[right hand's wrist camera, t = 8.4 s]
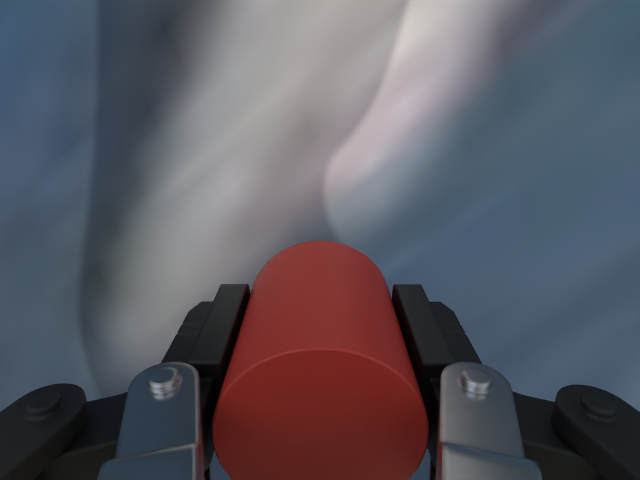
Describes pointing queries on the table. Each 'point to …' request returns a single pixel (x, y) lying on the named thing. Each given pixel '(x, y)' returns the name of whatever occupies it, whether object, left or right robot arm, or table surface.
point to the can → (320, 376)
